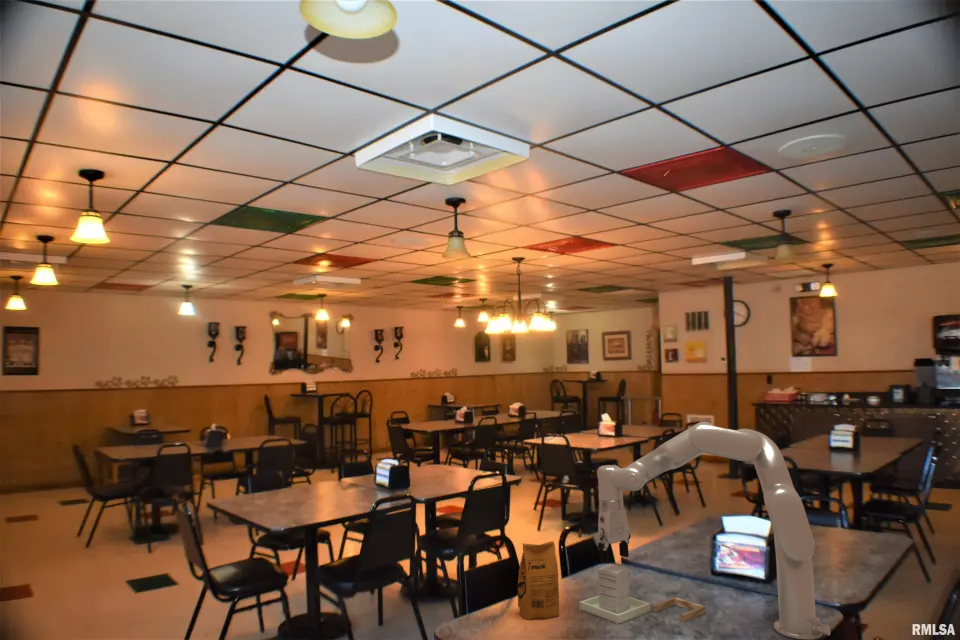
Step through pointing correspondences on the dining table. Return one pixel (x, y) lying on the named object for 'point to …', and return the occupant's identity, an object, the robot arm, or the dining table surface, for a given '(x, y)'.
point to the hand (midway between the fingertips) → (614, 559)
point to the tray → (634, 611)
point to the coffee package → (538, 582)
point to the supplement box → (613, 588)
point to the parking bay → (694, 608)
